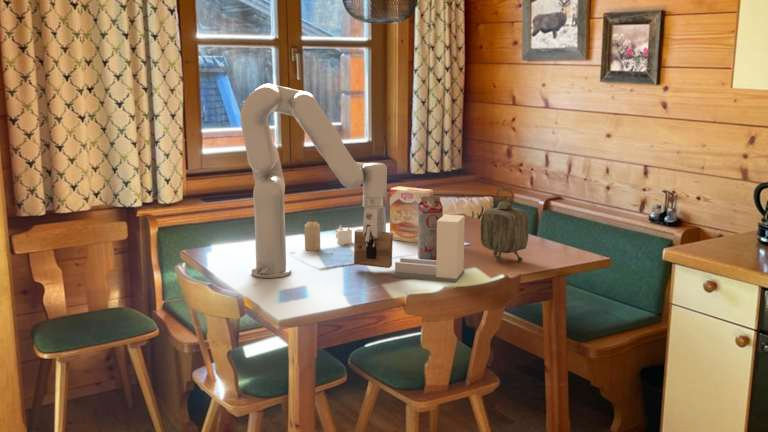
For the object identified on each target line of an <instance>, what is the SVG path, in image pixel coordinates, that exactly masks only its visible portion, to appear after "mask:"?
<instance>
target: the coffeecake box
mask: <svg viewBox="0 0 768 432" xmlns="http://www.w3.org/2000/svg"><path fill="white" fill-rule="evenodd" d="M422 196H434V190H433V189H428V188H426V189H425V188H418V187H411V186H410V187H408V186H400V185H399V186H394V187H391V188H389V233H393V241H400V242H401V241H402V242H408V243H415V244H418V205H419V203H420V202H421V197H422Z"/></svg>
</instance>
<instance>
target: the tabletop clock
mask: <svg viewBox="0 0 768 432" xmlns="http://www.w3.org/2000/svg"><path fill="white" fill-rule="evenodd" d="M501 191H507V192H509V193H510V194H511V198H507V196H505V195H504V196H503V197H501V196H500V195H499V192H501ZM496 196H497V198H498V199H500V200H501V201H500V202H499V203H498V204H497V207H494V208H489V209H485V210H484V211H483V213H482V216H481V220H480V243H481V245H482V246H483V247H484V248H485V249H488V250H490V251H493V252H492V254H493V256H495V257H496V256H498V257H496V261H497V262H501V261H502V257H501V255H502V253H503V254H511V253H514V254H515V256H516V257H517V261H518V262H522V261H523V257H522V256H520V255H519V254H518V251H521V250H526V248H527V246H528V240H529V232H530V231H529V230H530V229H529V228H530V227H529V216H528V213H527V212H526V211H524V210H523V209H521V208H517V207H513V206H512V203H511V202H510V201H512V200H513V198H514V192H513V191H512V190H511V189H510V188H506V187H501V188H499V189H497V191H496Z"/></svg>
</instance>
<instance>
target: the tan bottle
mask: <svg viewBox="0 0 768 432" xmlns="http://www.w3.org/2000/svg"><path fill="white" fill-rule="evenodd" d="M304 248H305V250H307V251H317V250H318V251H319V250H320V249H321V224H319V223H318V222H317V221H309V220H308V221H307V222H306V224H304Z"/></svg>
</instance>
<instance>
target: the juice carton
mask: <svg viewBox="0 0 768 432" xmlns="http://www.w3.org/2000/svg"><path fill="white" fill-rule="evenodd" d="M443 208H444V207H443V205H442V201H441V195H433V196H422V197H421V202H420V203H419V205H418V243H417V257H418V258H417V259H425V260H436V257H437V220H439V219H440V218H441V217H442V216H444V214H443V213H444V212H443Z"/></svg>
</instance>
